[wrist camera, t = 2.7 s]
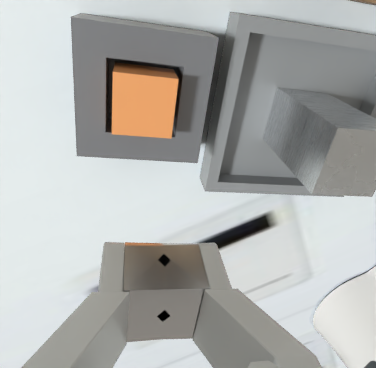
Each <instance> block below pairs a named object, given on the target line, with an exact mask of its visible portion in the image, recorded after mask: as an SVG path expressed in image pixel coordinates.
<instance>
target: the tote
mask: <svg viewBox="0 0 376 368" xmlns="http://www.w3.org/2000/svg"><path fill="white" fill-rule="evenodd" d="M277 88H286V89H295V90H304V91H312V92H321V93H327V94H329V95H331V96H333V97H335V98H337V99H339V100H341V101H343V102H344V103H346V104H348V105H350V106H352V107H354V108H356V109H358V110H360V111H362V112H364V113H366V114H368V115H370V116H371V117H373V118H375V119H376V35H372V34H365V33H359V32H353V31H347V30H340V29H334V28H328V27H321V26H315V25H309V24H303V23H296V22H290V21H284V20H278V19H271V18H265V17H259V16H253V15H246V14H240V13H234V12H230V14H229V19H228V25H227V30H226V36H225V41H224V47H223V52H222V58H221V63H220V69H219V74H218V80H217V86H216V91H215V97H214V102H213V108H212V113H211V119H210V124H209V130H208V135H207V141H206V146H205V152H204V157H203V163H202V168H201V174H200V179H201V182H202V185H203V187H204V190H205V191H211V192H236V193H261V194H287V195H312V196H337V197H344V195H321V194H311V193H310V192H309V191H308V190H307V188H306V187H305V186H304V185H303V184H302V183H301V182H300V181H299V179H298V178H297V177H296V176H295V175H294V174H293V173H292V172H291V170H290V169H289V168H288V167H287V166H286V165H285V164H284V162H283V161H282V160H281V159H280V158H279V157H278V156H277V155H276V153H275V152H274V151H273V150H272V149H271V148H270V147H269V146H268V144H267V143H266V142H265V141H264V140H263V135H264V132H265V128H266V125H267V121H268V117H269V114H270V110H271V107H272V103H273V99H274V96H275V92H276V89H277Z"/></svg>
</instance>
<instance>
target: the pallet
mask: <svg viewBox="0 0 376 368" xmlns="http://www.w3.org/2000/svg"><path fill="white" fill-rule="evenodd" d="M350 1H356V2H361V3H367V4H372V5H376V0H350Z"/></svg>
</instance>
